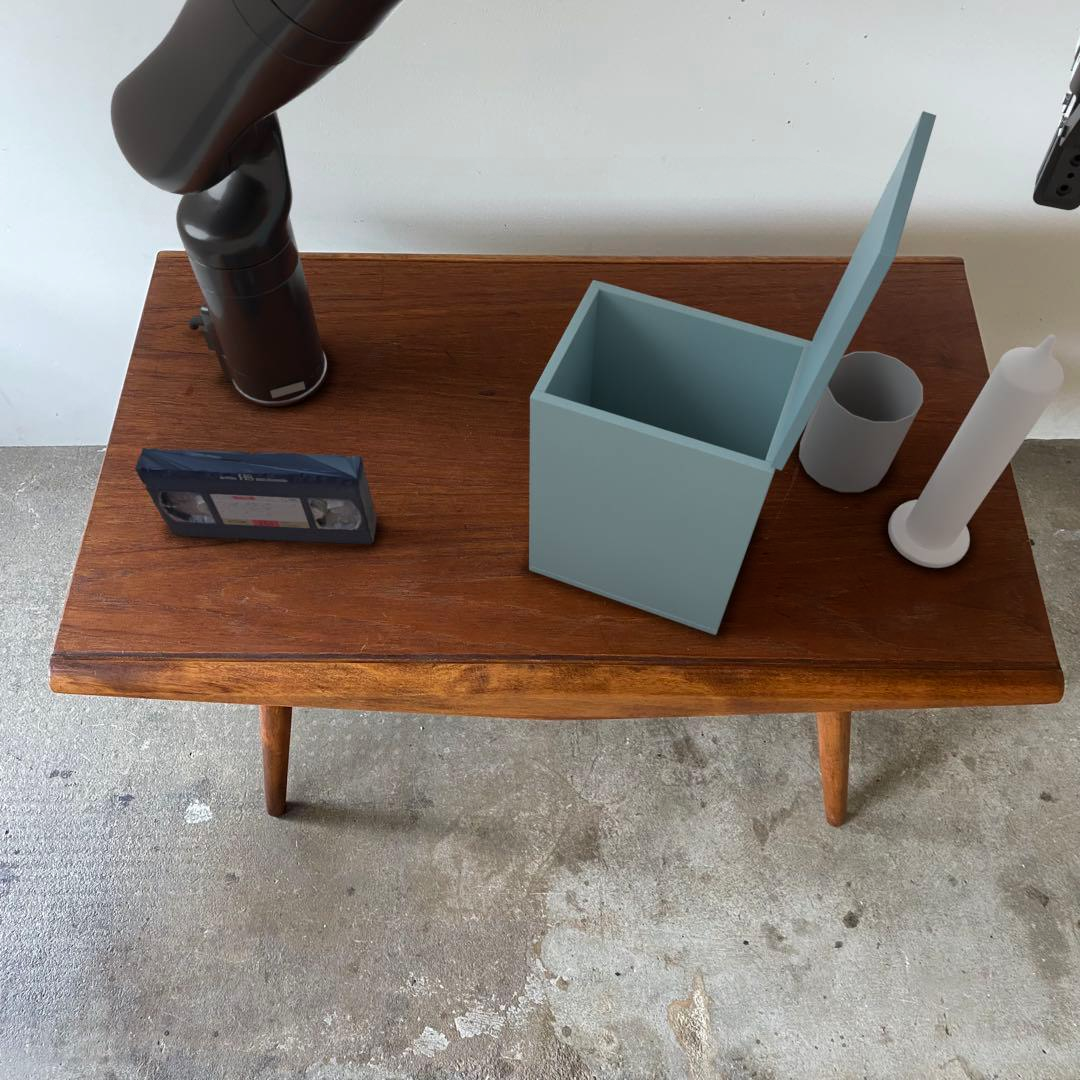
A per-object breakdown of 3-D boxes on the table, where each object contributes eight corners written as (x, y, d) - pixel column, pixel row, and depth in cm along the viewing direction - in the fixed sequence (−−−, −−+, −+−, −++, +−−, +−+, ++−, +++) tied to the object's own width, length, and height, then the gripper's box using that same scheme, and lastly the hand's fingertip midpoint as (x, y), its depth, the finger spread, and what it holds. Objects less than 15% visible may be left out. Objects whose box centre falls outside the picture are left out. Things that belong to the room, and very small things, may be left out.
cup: (896, 441, 93) (933, 369, 85) (875, 504, 89) (912, 435, 81) (812, 413, 95) (839, 340, 87) (787, 473, 91) (814, 402, 82)
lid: (879, 252, 47) (895, 257, 47) (922, 110, 53) (936, 115, 53) (769, 466, 62) (781, 471, 62) (814, 336, 68) (824, 340, 68)
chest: (528, 570, 85) (529, 396, 66) (579, 465, 91) (593, 279, 72) (715, 635, 81) (774, 473, 62) (754, 521, 88) (817, 342, 69)
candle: (952, 581, 85) (1091, 389, 64) (875, 545, 87) (987, 347, 66) (977, 525, 88) (1118, 324, 67) (903, 491, 90) (1018, 286, 69)
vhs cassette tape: (170, 536, 86) (132, 468, 78) (179, 509, 88) (143, 440, 79) (373, 549, 86) (357, 483, 77) (379, 522, 87) (363, 454, 79)
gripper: (1146, -302, 38) (993, 110, 52) (1126, -166, 31) (956, 265, 45) (1363, -287, 36) (1143, 136, 50) (1393, -140, 29) (1128, 301, 43)
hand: (1055, 197), depth 48 cm, fingers closed
